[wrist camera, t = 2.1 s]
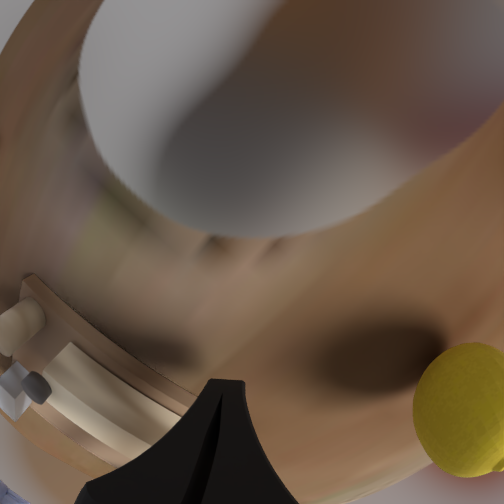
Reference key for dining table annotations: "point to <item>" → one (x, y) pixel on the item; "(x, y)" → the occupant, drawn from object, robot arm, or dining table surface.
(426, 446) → the lemon
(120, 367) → the board
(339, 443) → the dining table surface
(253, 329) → the dining table surface
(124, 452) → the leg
